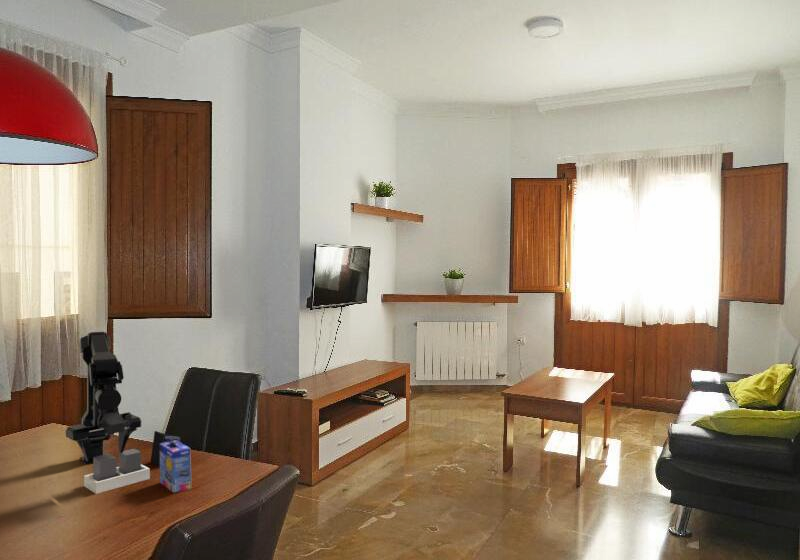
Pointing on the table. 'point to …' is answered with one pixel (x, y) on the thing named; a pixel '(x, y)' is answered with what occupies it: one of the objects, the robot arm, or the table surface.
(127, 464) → the twin plug
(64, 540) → the table surface
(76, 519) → the table surface
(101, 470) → the grey rectangular block
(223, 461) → the table surface
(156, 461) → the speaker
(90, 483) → the dock
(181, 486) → the ink cartridge box
